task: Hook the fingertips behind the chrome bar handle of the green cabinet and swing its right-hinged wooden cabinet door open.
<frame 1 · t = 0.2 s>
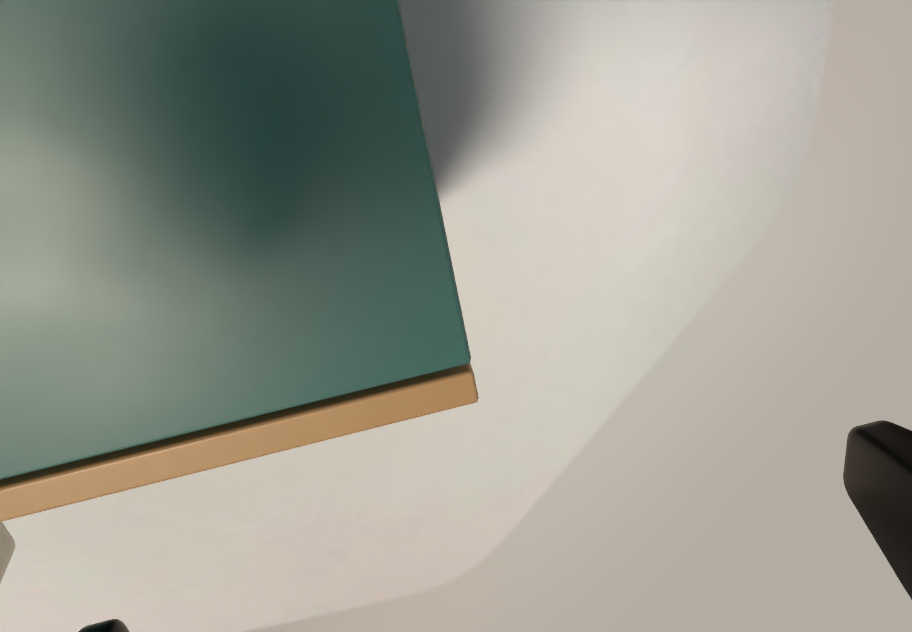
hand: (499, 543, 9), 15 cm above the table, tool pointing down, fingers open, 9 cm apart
green cabinet: (39, 42, 19), on the table
wooden cabinet door: (150, 449, 20), point 5 cm above the table, hinge at 0.0°
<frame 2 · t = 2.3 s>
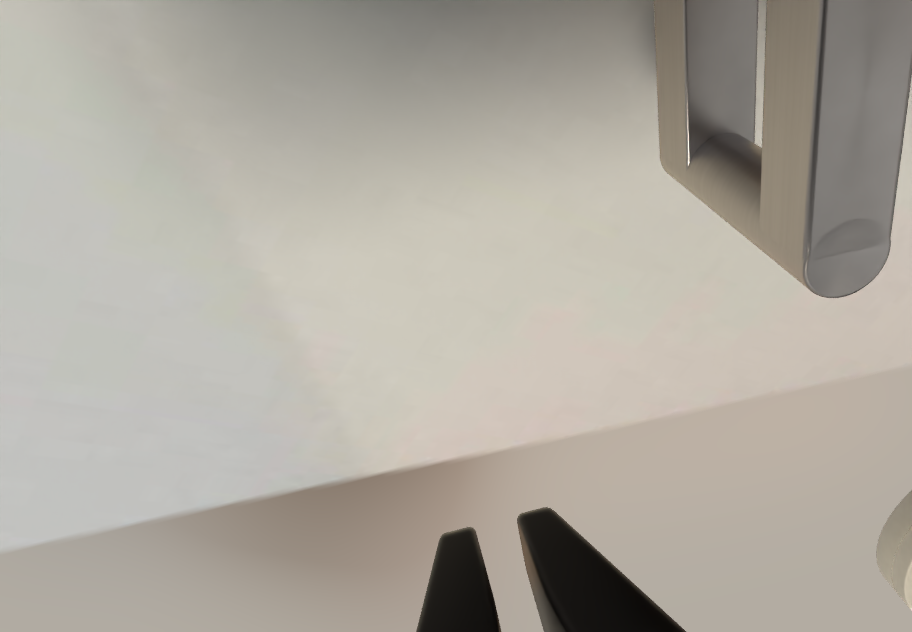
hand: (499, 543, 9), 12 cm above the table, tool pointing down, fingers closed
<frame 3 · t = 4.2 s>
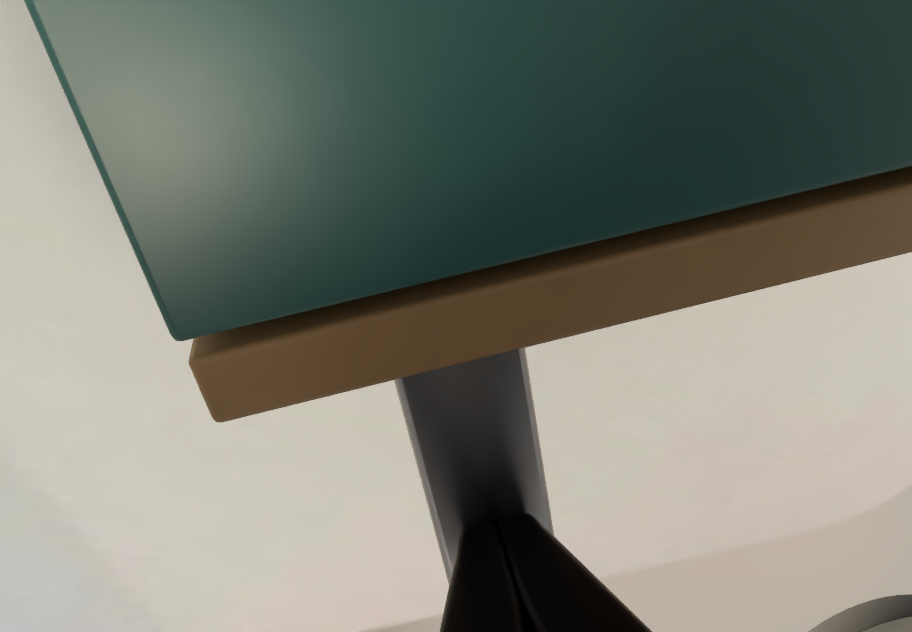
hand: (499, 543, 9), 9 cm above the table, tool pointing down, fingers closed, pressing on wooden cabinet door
wooden cabinet door: (766, 252, 13), point 5 cm above the table, hinge at 0.0°, touching gripper
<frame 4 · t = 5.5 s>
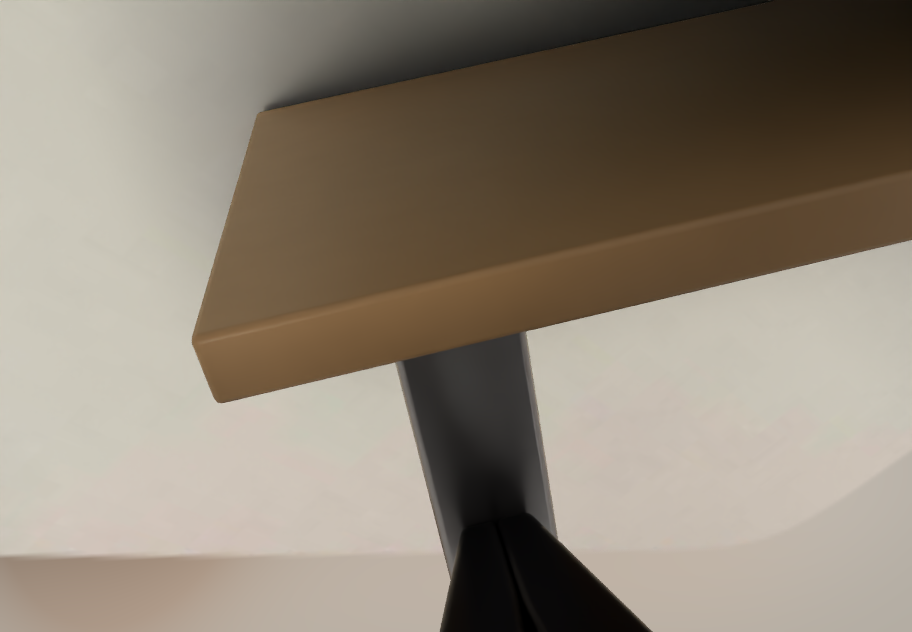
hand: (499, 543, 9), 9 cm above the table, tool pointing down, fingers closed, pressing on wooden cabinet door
wooden cabinet door: (771, 257, 13), point 5 cm above the table, hinge at 14.8°, touching gripper
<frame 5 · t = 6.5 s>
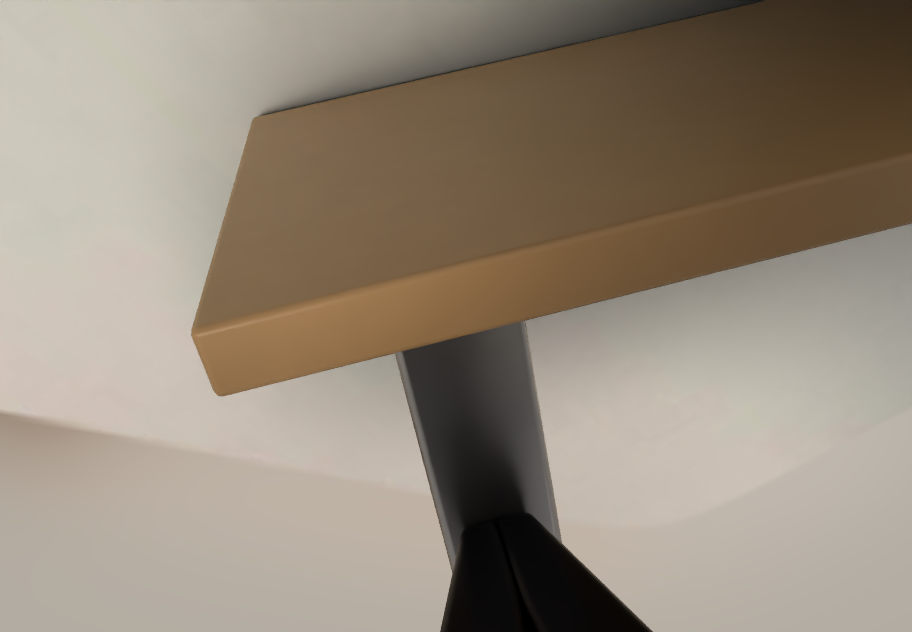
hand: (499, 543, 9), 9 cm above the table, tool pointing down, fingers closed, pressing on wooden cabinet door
wooden cabinet door: (767, 252, 13), point 5 cm above the table, hinge at 28.5°, touching gripper
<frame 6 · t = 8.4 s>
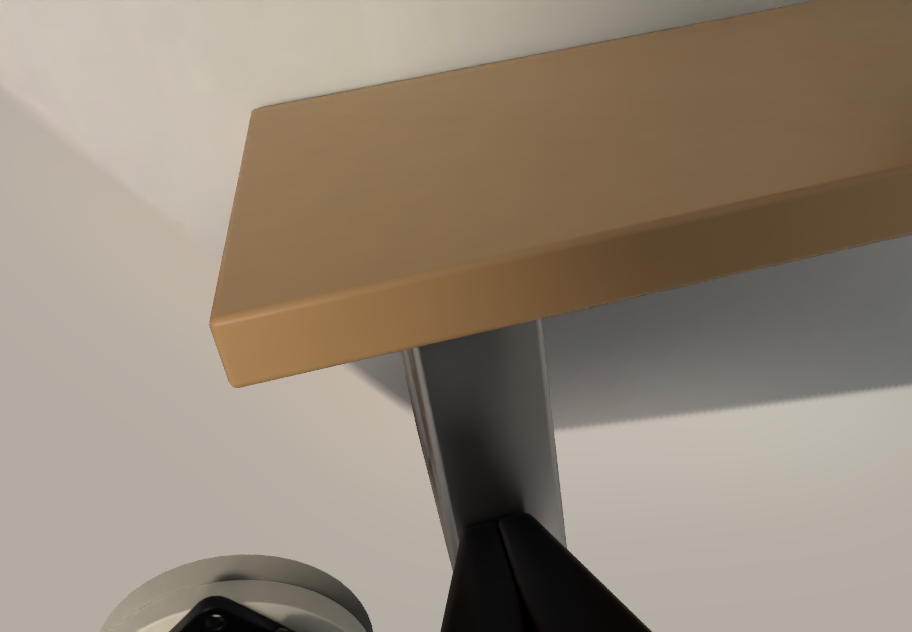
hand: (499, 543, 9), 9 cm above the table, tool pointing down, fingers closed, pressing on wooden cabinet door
wooden cabinet door: (764, 258, 14), point 5 cm above the table, hinge at 53.4°, touching gripper
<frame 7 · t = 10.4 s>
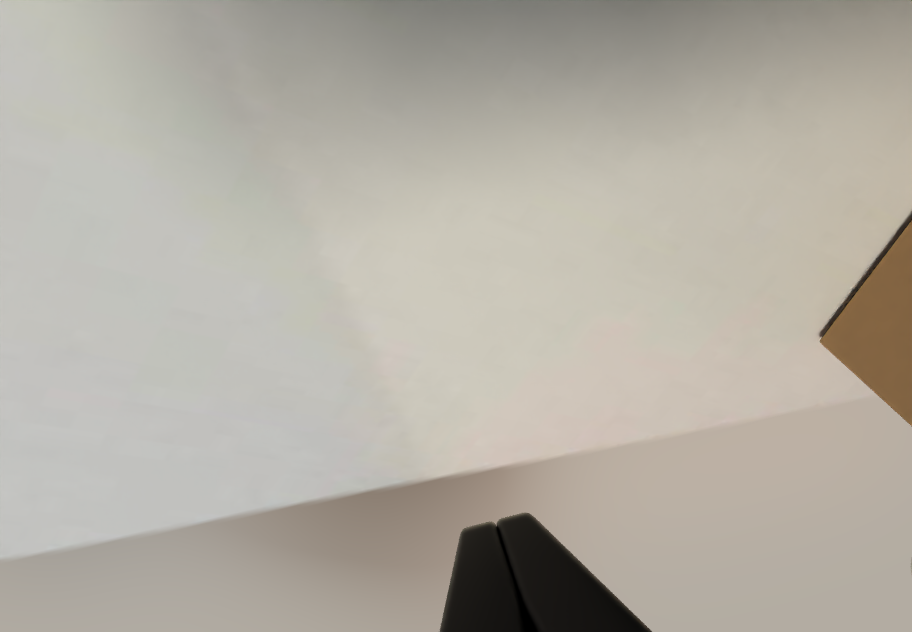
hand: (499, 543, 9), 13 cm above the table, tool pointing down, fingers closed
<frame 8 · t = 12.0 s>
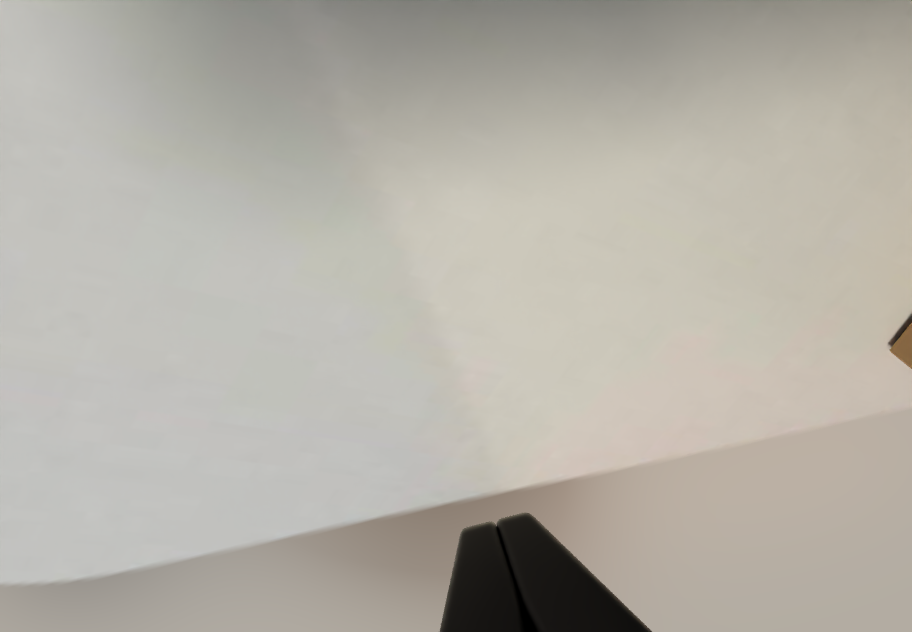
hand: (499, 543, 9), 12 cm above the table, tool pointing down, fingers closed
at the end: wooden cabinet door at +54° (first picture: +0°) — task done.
